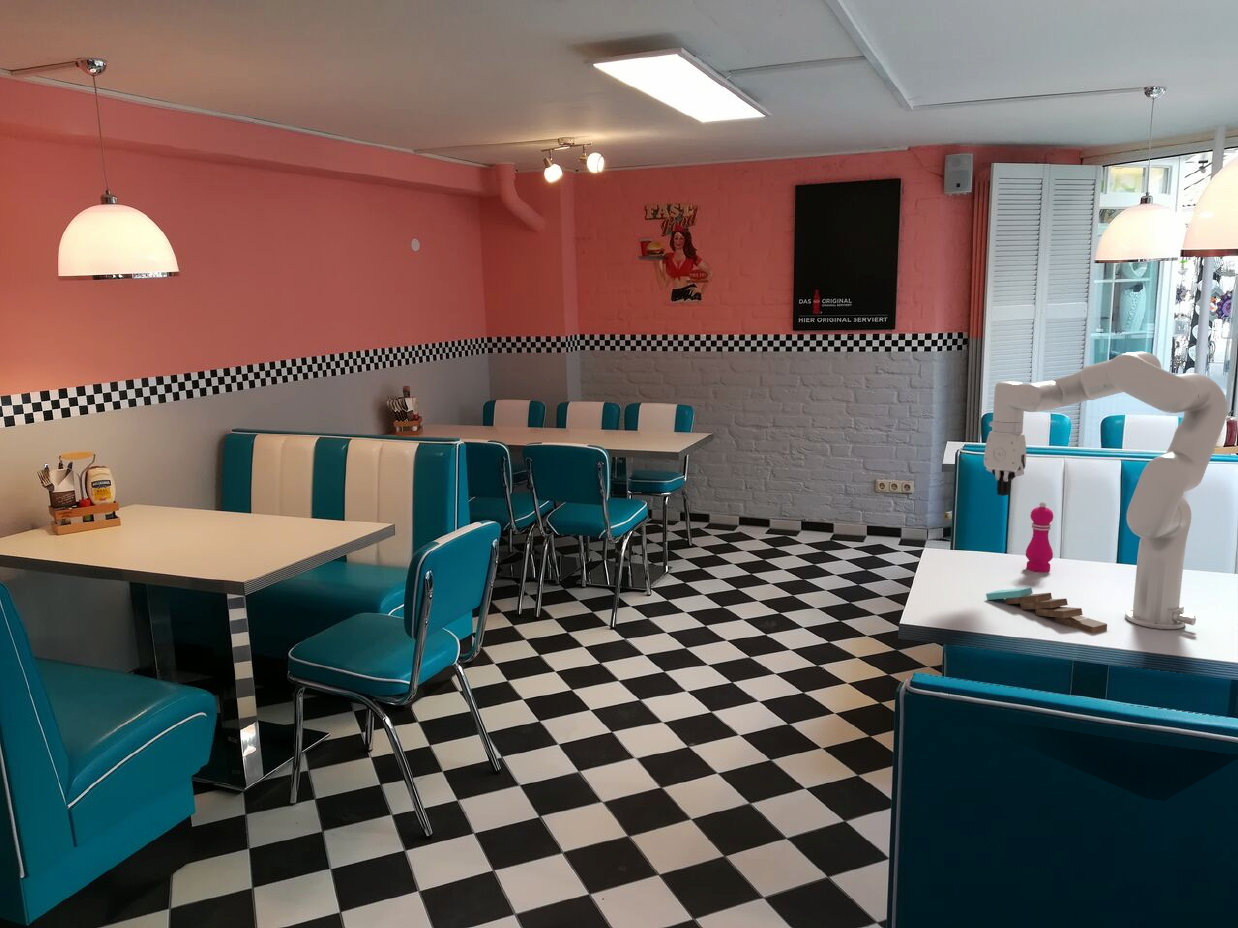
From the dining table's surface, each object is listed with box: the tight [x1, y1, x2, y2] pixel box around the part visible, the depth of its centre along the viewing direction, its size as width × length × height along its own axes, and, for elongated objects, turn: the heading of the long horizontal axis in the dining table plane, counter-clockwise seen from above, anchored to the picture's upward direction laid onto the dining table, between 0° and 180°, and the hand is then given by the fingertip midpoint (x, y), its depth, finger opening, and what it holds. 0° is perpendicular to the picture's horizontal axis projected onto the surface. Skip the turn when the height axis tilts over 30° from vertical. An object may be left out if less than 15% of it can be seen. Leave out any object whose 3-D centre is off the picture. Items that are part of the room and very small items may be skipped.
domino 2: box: [1004, 592, 1053, 605], centre depth 231 cm, size 2×5×10 cm
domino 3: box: [1019, 598, 1069, 610], centre depth 227 cm, size 2×5×10 cm
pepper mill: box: [1025, 501, 1054, 573], centre depth 264 cm, size 7×7×20 cm
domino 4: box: [1034, 606, 1083, 618], centre depth 222 cm, size 2×5×10 cm
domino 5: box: [1054, 615, 1108, 635], centre depth 219 cm, size 2×5×10 cm
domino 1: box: [985, 586, 1034, 601], centre depth 235 cm, size 2×5×10 cm
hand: (1003, 494), depth 248 cm, fingers closed
